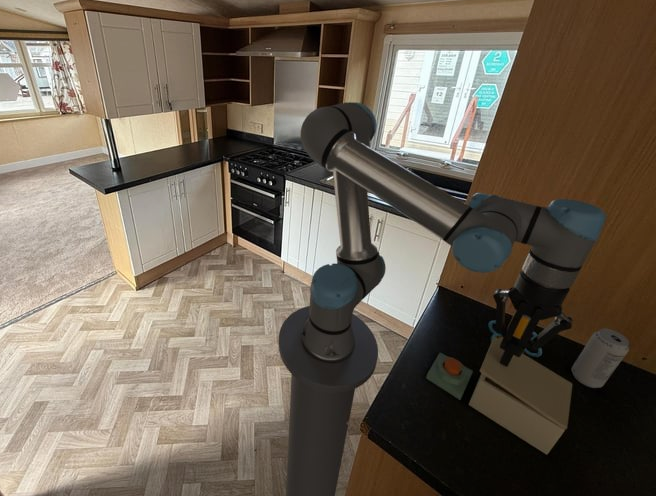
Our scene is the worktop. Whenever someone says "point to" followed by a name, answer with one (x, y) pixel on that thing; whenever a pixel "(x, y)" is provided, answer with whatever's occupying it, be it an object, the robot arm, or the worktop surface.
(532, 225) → the robot arm
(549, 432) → the beige square box
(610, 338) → the energy drink can
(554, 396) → the beige board
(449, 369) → the button
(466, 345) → the worktop surface
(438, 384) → the control block
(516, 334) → the cylinder
